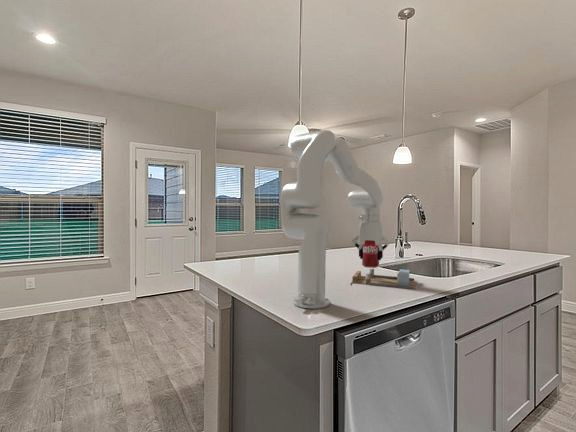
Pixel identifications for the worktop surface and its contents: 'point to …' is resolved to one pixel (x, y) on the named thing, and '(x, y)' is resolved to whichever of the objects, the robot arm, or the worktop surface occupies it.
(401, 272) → the jaw
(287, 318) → the worktop surface
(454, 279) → the worktop surface
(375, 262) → the soda can
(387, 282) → the board
